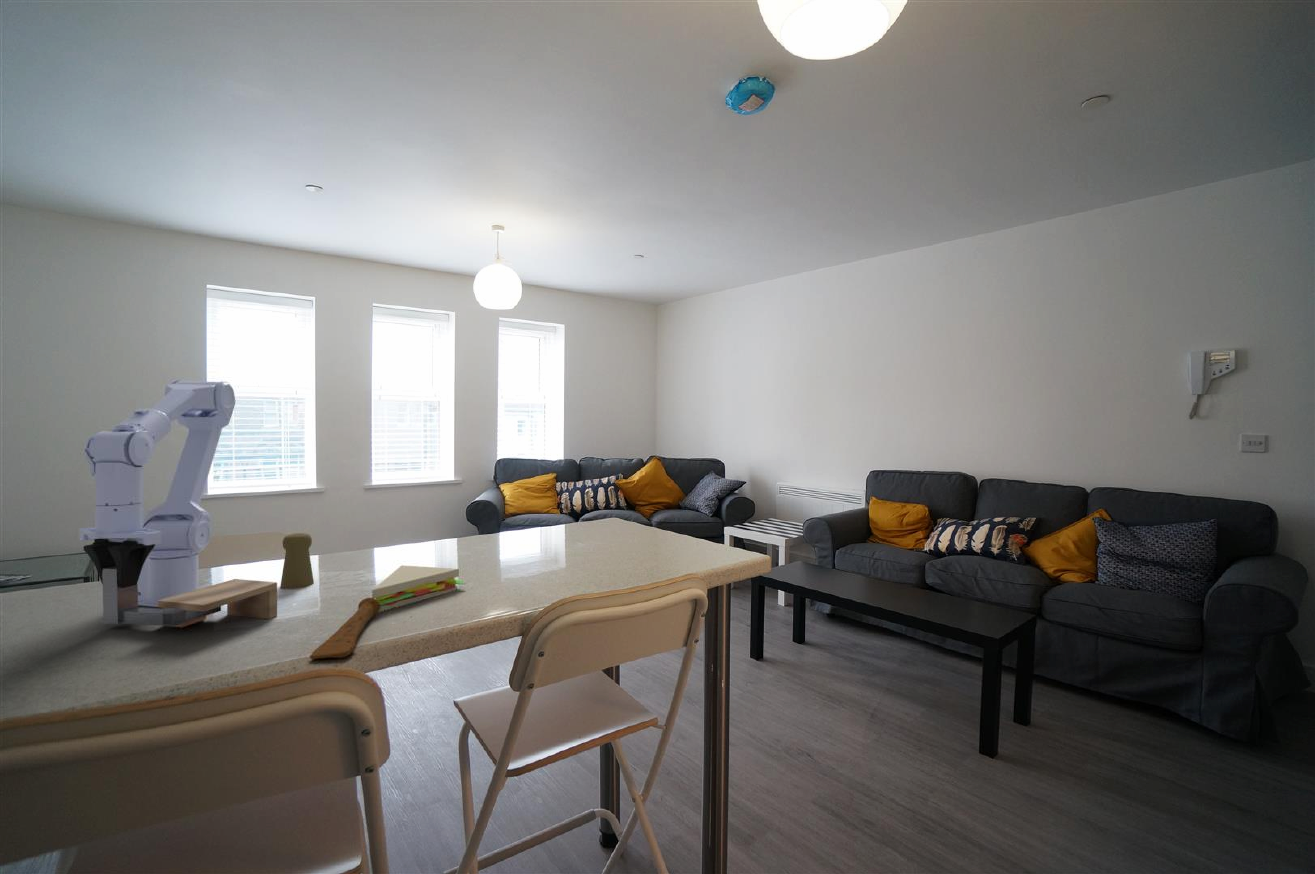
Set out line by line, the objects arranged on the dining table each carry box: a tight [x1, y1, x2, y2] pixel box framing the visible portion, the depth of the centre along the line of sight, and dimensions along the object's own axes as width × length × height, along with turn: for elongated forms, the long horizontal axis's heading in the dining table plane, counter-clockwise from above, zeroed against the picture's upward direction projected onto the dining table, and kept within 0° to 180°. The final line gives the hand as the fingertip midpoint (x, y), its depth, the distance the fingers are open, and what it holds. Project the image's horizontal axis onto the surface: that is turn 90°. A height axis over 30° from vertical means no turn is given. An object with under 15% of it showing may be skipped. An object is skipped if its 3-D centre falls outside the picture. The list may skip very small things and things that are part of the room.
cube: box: [161, 607, 207, 628], centre depth 95 cm, size 4×4×4 cm
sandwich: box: [371, 565, 467, 612], centre depth 110 cm, size 15×20×5 cm
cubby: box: [156, 578, 278, 620], centre depth 94 cm, size 9×13×6 cm
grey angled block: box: [102, 566, 222, 627], centre depth 95 cm, size 14×8×9 cm, turn 78°
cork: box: [280, 532, 315, 590], centre depth 118 cm, size 6×6×11 cm
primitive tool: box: [309, 597, 380, 660], centre depth 91 cm, size 19×6×4 cm, turn 8°
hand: (119, 585), depth 93 cm, fingers closed on grey angled block, 3 cm apart
